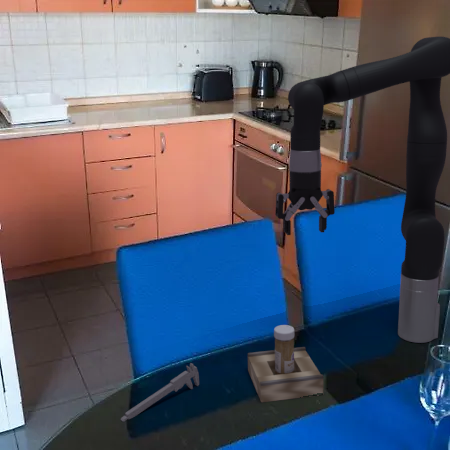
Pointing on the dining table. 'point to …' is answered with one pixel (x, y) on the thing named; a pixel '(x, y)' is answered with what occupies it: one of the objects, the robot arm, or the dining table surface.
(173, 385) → the caliper
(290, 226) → the robot arm
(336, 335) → the dining table surface
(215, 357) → the dining table surface
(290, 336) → the sprinkles bottle
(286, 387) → the block
